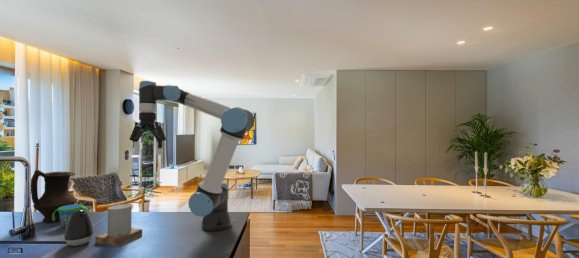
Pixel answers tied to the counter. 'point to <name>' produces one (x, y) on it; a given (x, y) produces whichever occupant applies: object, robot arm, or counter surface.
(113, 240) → the pedestal
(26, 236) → the counter surface
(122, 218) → the white canister
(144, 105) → the robot arm
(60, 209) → the snack cup
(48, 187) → the jug
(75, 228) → the egg shaped speaker
